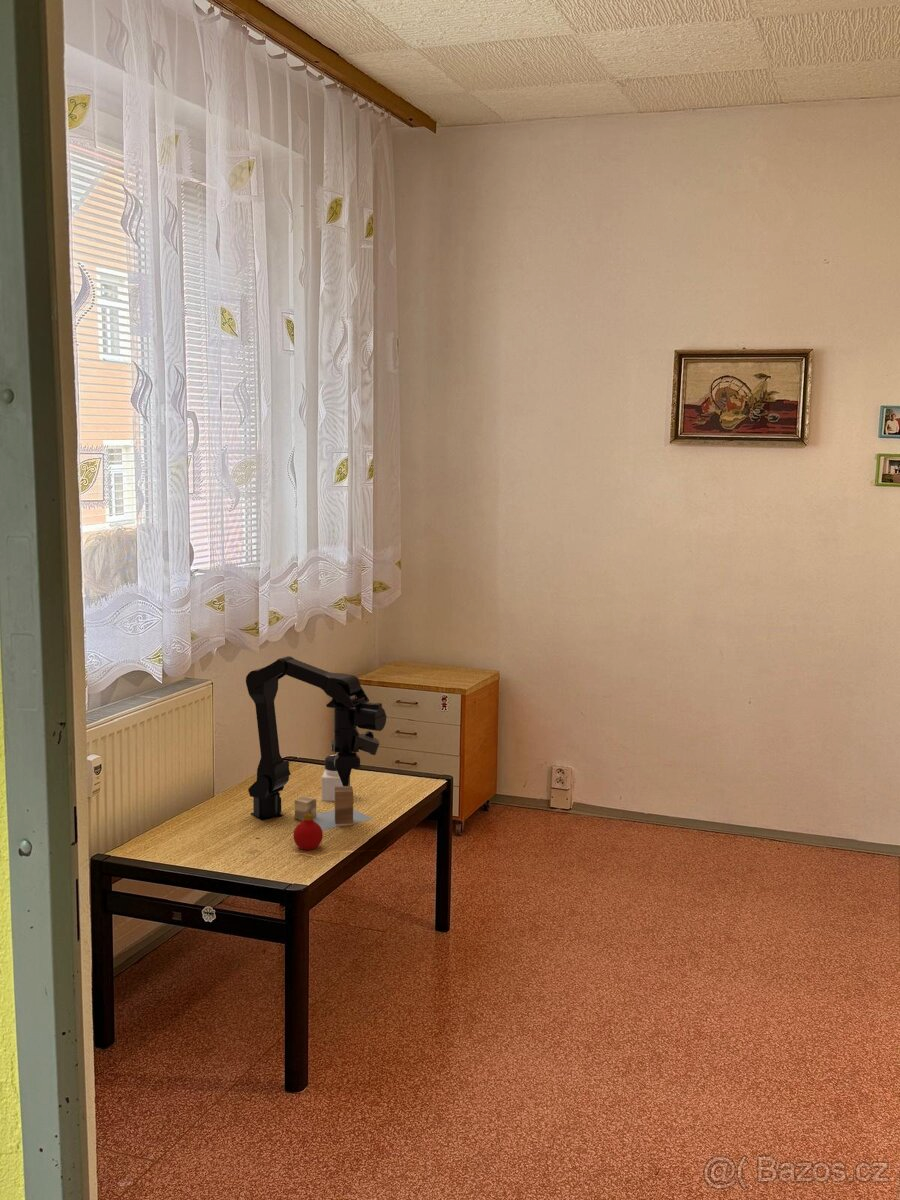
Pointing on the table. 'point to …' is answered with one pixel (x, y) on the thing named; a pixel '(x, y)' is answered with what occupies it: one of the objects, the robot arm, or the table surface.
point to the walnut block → (343, 805)
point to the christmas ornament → (308, 833)
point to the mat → (328, 819)
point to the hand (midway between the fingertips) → (345, 785)
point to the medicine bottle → (330, 780)
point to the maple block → (305, 807)
